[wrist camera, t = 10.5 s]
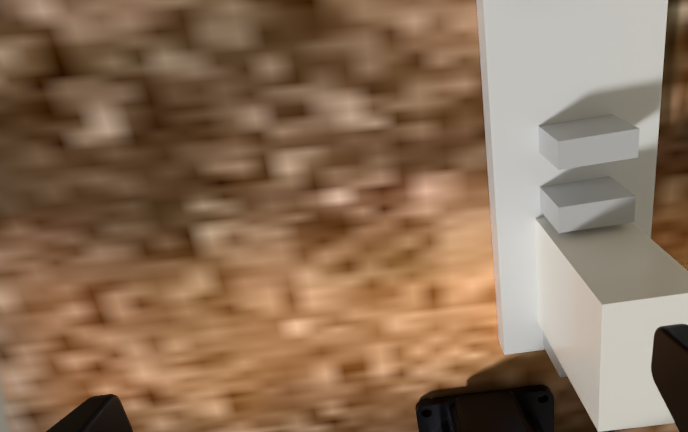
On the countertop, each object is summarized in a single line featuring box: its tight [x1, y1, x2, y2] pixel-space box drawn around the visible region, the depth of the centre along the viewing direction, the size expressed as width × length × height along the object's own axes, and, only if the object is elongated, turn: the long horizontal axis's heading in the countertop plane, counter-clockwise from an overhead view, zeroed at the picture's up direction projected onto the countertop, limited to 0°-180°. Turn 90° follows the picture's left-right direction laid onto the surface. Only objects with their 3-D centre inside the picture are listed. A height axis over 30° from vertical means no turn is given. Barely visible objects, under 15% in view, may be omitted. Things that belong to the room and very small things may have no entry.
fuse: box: [535, 217, 688, 432], centre depth 19 cm, size 5×3×6 cm, turn 10°
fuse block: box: [476, 0, 668, 378], centre depth 18 cm, size 26×6×3 cm, turn 10°
